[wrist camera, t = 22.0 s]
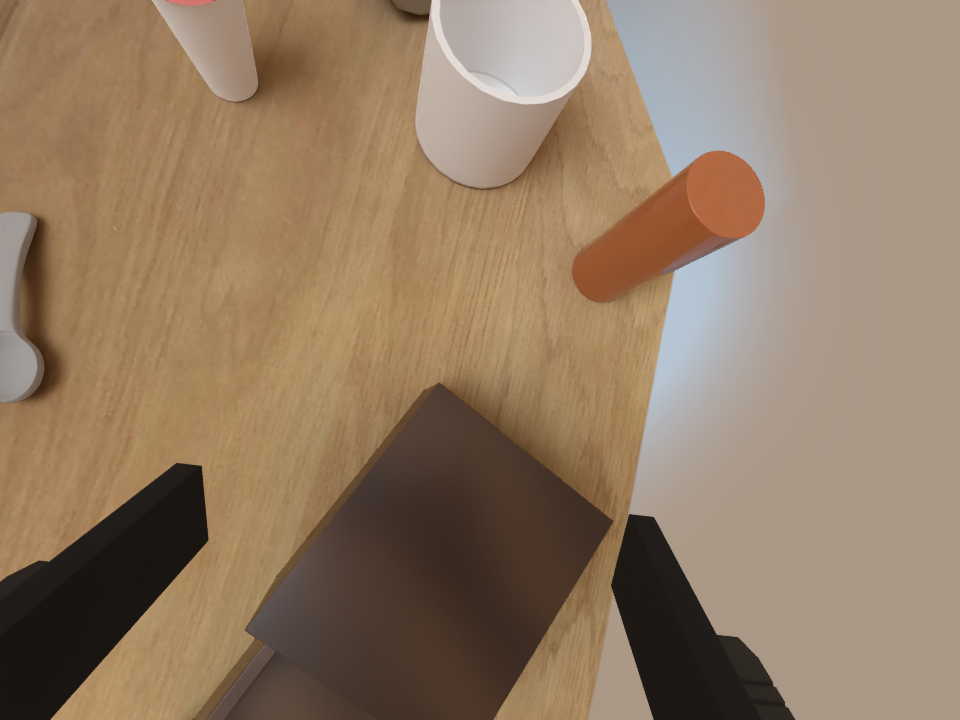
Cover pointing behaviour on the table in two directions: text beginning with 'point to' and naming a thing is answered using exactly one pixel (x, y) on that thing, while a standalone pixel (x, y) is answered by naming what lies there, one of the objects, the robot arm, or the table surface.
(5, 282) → the spoon
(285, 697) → the drawer
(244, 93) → the cup
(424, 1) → the mug
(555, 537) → the cabinet
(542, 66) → the mug
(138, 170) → the table surface
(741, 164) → the orange cylindrical post
